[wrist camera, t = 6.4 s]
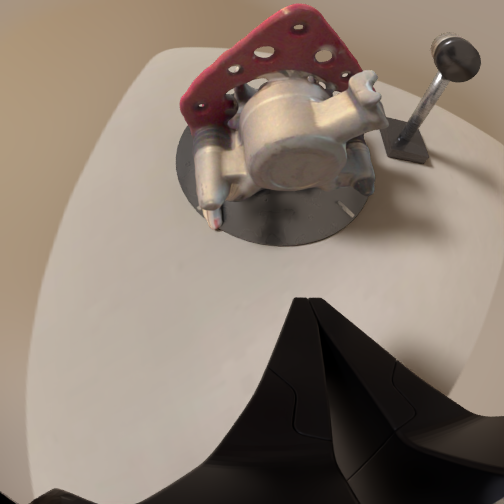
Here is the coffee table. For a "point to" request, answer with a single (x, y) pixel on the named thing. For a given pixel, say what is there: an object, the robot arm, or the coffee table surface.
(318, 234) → the truing plate
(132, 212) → the coffee table surface
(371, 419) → the robot arm
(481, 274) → the coffee table surface
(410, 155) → the stand
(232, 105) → the brake caliper
